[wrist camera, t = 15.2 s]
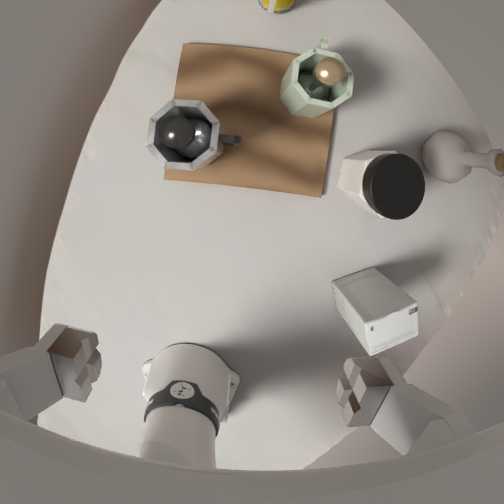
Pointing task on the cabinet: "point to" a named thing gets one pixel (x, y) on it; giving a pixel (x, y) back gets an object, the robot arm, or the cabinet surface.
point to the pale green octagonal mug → (296, 95)
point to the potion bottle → (457, 157)
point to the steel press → (190, 111)
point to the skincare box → (376, 310)
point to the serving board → (253, 121)
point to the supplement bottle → (276, 5)
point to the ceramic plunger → (322, 78)
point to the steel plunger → (185, 135)
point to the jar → (382, 183)
